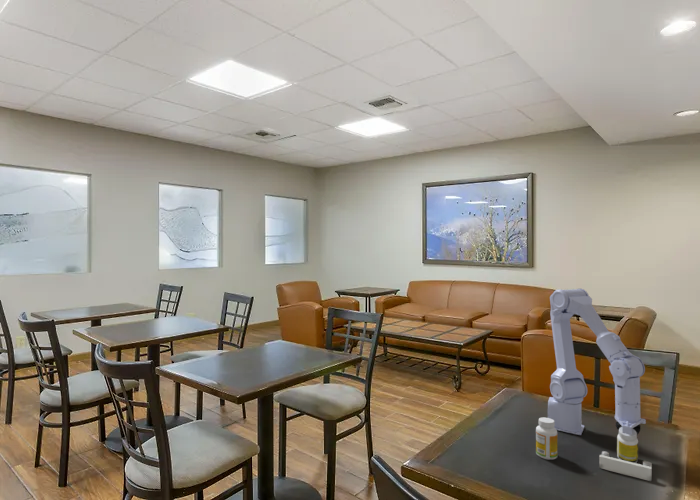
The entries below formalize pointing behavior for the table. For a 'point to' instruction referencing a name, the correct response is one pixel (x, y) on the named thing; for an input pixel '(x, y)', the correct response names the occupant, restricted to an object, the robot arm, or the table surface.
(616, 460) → the drawer handle
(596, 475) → the table surface
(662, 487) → the table surface
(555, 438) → the supplement bottle
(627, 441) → the supplement bottle
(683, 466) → the table surface
